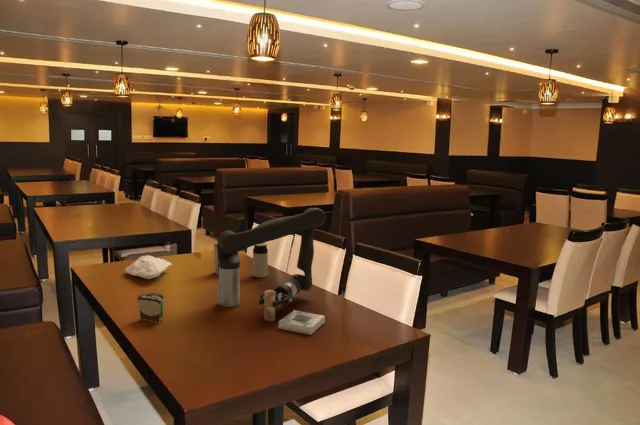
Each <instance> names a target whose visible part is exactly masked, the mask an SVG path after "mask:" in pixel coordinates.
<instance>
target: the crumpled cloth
mask: <svg viewBox="0 0 640 425" xmlns="http://www.w3.org/2000/svg"><path fill="white" fill-rule="evenodd" d="M172 266H173V264H172V263H171V262H170V261H167V260H165V259H162V258H158V257H154V256H153V255H146V254H145V255H141V256H139V257H138V258H137V259H136V260H134V262H133V263H131V264H130V265H128V266H127V267H126V268H125V269H124V271H125V273H127V274H129V275H131V276H134V277H140V278H143V279H148V280H151V279H154V278H157V277H159V276H160V275H161V274H163V273H164V272H165V271H166V270H167V269H169V268H170V267H172Z"/></svg>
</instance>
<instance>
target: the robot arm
mask: <svg viewBox="0 0 640 425" xmlns="http://www.w3.org/2000/svg"><path fill="white" fill-rule="evenodd" d="M326 219H327V215H326V213H325V211H324V210H323V209H321V208H318V207H309V208H307V209H305V210H304V211H303V213H300V214H297V215H289V216H282V217H277V218H273V219H270V220H266V221H264V222H262V223H260V224H258V225H257V226H254V228H251V229H249V230H245V231H241V232H234V231H232V230H224V231H222V232H221V233H220V234H219V236H218V238H217V243H216V244H217V248H218V261H219V275H218V278H219V279H218V283H217V285H216V289H217V292H216V299H217V300H216V303H217V304H218V305H219V306H221V307H225V308H232V307H237V306H239V305H240V303H241V301H240V300H241V299H240V298H241V286H240V285H241V260H240V258H239V252H241V251H243V250H246V249H248V248H251V247H254V245H257V244H261V243H267V242H271V241H274V240H275V241H276V240H279V239H281V238H284V237H287V236H290V235H292V234H294V233H297V232H300V231H301V234H300V235H301V239H300V246H299V253H298V257H297V263H296V268H297V269H298V270H300V271H303V274H298V273H295V274H292V275H291V277H290V279H289V280H288V281H286V282H284V283H282V284H280V285H278V286H277V287H275V288H274V289H273V290H274V291H275V301H274V302H273V307H275V308H276V307H278V306H281V305H282V306H287V305H288V304H291V303H292V302H293V298H294V297H295V296H296V295H298V294H299V293H300V292H301V291H302V292H303V291H304V292H308V291H309V290H311V288H312V287H313V274H312V273H313V272H312V271H313V270H312V265H313V262H314V256H315V253H314V252H315V250H314V249H315V246H314V234H315V230H316V228H318V227H319V228H320V227H321V226H323V225H324V223H325V222H326ZM264 298H265V291H263V292H262V293H261V294H260V295H259V300H258V304H259V306H262V305H263V304H264Z"/></svg>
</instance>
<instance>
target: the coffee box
mask: <svg viewBox="0 0 640 425" xmlns="http://www.w3.org/2000/svg"><path fill="white" fill-rule="evenodd" d="M213 245H214V274H216V275H217V276H219V261H218V248H217V243H216V244H213Z"/></svg>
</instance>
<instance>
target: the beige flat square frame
mask: <svg viewBox="0 0 640 425" xmlns="http://www.w3.org/2000/svg"><path fill="white" fill-rule="evenodd" d="M325 318H326V317H325V315H323V314H316V313H311V312H307V311H301V310H295V309H293V311H291V312H289V313H288V314H287V315H286V316H284V317H283V318H281V319H280V320H279V321H278V329H281V330H285V331H289V332H295V333H299V334H303V335H304V334H306V335H309V336H311V335H313V333H315V332H316V331H317V330H318V329H319V328H321V327H322V325H324V324H325V320H326V319H325Z"/></svg>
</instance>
